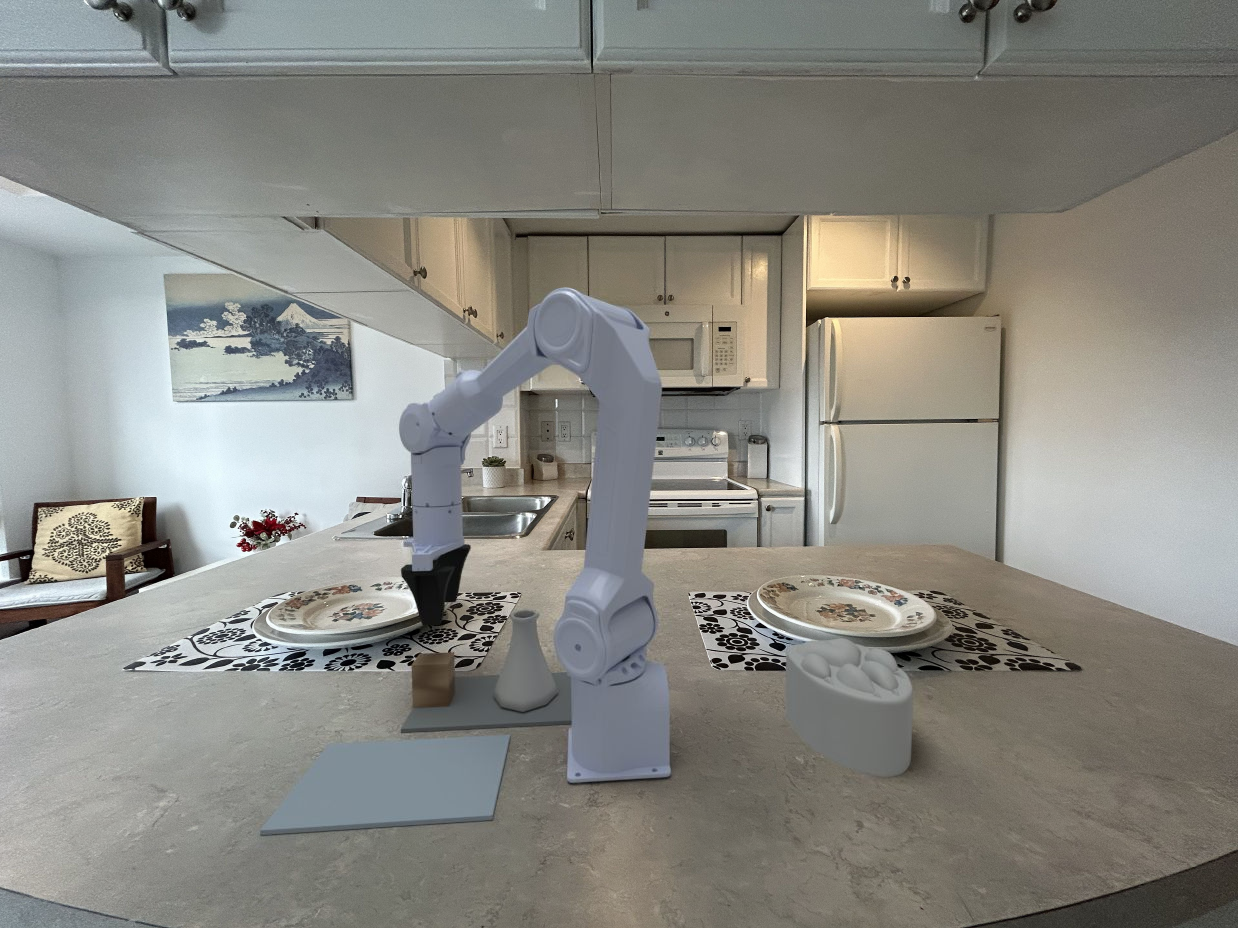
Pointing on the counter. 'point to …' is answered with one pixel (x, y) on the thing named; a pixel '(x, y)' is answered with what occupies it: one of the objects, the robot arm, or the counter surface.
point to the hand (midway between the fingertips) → (440, 612)
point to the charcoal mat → (473, 700)
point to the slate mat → (395, 785)
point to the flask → (524, 667)
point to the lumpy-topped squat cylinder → (851, 705)
